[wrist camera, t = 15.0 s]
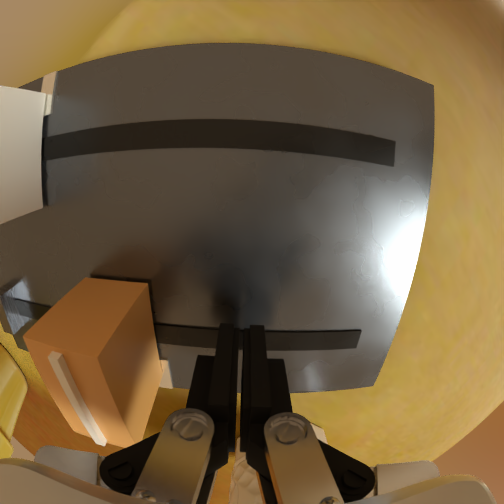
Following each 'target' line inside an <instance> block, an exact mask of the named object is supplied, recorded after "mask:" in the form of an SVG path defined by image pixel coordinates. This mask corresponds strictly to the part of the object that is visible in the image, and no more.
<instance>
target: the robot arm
mask: <svg viewBox="0 0 504 504" xmlns="http://www.w3.org/2000/svg"><path fill="white" fill-rule="evenodd" d="M239 330H240V328H235V327H234V324H230V323H220V325H219V332H218V338H217V345H216V352H215V356H209V355H198V356H197V359H196V363H195V368H194V372H193V377H192V381H191V386H190V390H189V395H188V400H187V404H186V408H185V409H180V410H177V411H175V412H173V413H172V414H171V415H170V416H169V417H168V418H167V420H166V422H165V424H164V426H163V428H162V430H161V432H159V433H157V434H155V435H153V436H151V437H149V438H146V439H144V440H142V441H140V442H138V443H136V444H133V445H131V446H129V447H127V448H124V449H122V450H120V451H117V452H115V453H113V454H110V455H109V456H107V457H105V456H99V454H97V453H89V452H83V451H76V450H71V449H65V448H60V447H55V446H44V447H41V448H40V449H39V450H38V451H37V453H36V455H35V459H34V462H33V461H30V460H25V459H19V458H3V459H0V504H209V502H210V498H211V494H212V491H213V487H214V483H215V480H216V476H217V472H218V469H219V468H221V467H222V466H224V465H225V464H227V463H228V456H229V452H235V431H236V406H237V379H238V354H239ZM240 452H246V460H247V464H248V465H249V466H250V467H252V468H253V469H254V470H256V476H257V480H258V485H259V489H260V493H261V498H262V502H263V504H497V503H496V501H495V499H494V497H493V495H492V493H491V492H490V490H489V488H488V487H487V486H486V484H485V483H484V482H483V481H482V480H481V479H479V478H478V477H476V476H473V475H464V474H457V475H448V476H441V477H440V474H439V470H438V468H437V466H436V465H435V464H434V463H433V462H430V461H415V462H406V463H394V464H377V465H376V466H375V467H368V466H367V465H365V464H364V463H362V462H360V461H358V460H356V459H354V458H352V457H350V456H348V455H346V454H344V453H342V452H340V451H339V450H337V449H335V448H333V447H331V446H330V445H328V444H326V443H324V442H323V441H321V440H319V439H317V437H316V434H315V432H314V430H313V427H312V425H311V424H310V422H309V421H308V420H307V419H306V418H305V417H303V416H301V415H299V414H296V413H293V412H292V405H291V399H290V393H289V387H288V381H287V374H286V368H285V362H284V359H273V358H267V349H266V338H265V327H264V325H250V328H244V339H243V356H242V374H241V409H240Z"/></svg>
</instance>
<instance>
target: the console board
mask: <svg viewBox="0 0 504 504" xmlns="http://www.w3.org/2000/svg"><path fill="white" fill-rule="evenodd" d="M19 89H25V90H31V91H36V92H41V93H46V97H45V105H44V115H43V126H42V144H41V182H42V200H43V208H42V209H39V210H36V211H33V212H30V213H28V214H25V215H23V216H20V217H17V218H15V219H12V220H10V221H7V222H5V223H2V224H0V322H1V324H2V327H3V329H4V331H5V332H7V333H10V334H12V335H13V337H14V339H15V342H16V344H17V346H18V348H20V349H23V350H25V351H28V352H29V350H28V348H27V346H26V343H25V341H24V339H23V335H24V334H25V333H26V332H27V331H28V330H29V329H30V328H31V327H32V326H33V325H34V324H35V323H36V322H37V321H38V320H39V319H40V318H41V317H42V316H43V315H44V314H45V313H46V312H48V311H49V310H50V309H51V308H52V307H53V306H54V305H55V304H56V303H57V302H58V301H59V300H60V299H61V298H63V297H64V296H65V295H66V294H67V293H68V292H69V291H70V290H71V289H73V288H74V287H75V286H76V285H77V284H78V283H79V282H81V281H82V280H83V279H84V278H85V277H87V278H96V279H106V280H117V281H127V282H139V283H148V287H149V296H150V304H151V311H152V319H153V325H154V332H155V338H156V344H157V349H158V355H159V360H160V365H161V370H162V375H163V376H162V379H161V382H160V385H159V387H163V388H170V389H173V387H176V388H184V389H190V386H191V381H192V377H193V372H194V368H195V363H196V359H197V356H198V355H209V356H215V352H216V345H217V338H218V332H219V325H220V323H230V324H234V327H235V328H240V330H239V354H238V379H237V393H241V374H242V356H243V339H244V328H250V325H264V327H265V338H266V349H267V358H273V359H284V362H285V368H286V374H287V381H288V387H289V393H306V392H322V391H335V390H345V389H354V388H362V387H369V386H373V385H374V383H375V381H376V379H377V377H378V374H379V372H380V370H381V367H382V365H383V363H384V360H385V358H386V356H387V353H388V351H389V348H390V345H391V343H392V340H393V338H394V335H395V332H396V329H397V327H398V324H399V321H400V318H401V315H402V312H403V309H404V306H405V302H406V299H407V296H408V293H409V289H410V286H411V282H412V278H413V275H414V271H415V267H416V263H417V259H418V254H419V250H420V245H421V241H422V236H423V230H424V225H425V219H426V213H427V207H428V200H429V193H430V185H431V175H432V164H433V150H434V86H433V85H431V84H429V83H427V82H424V81H422V80H419V79H417V78H414V77H412V76H409V75H406V74H403V73H401V72H398V71H395V70H392V69H389V68H386V67H382V66H379V65H376V64H372V63H369V62H365V61H361V60H358V59H354V58H350V57H345V56H341V55H336V54H331V53H326V52H321V51H315V50H309V49H302V48H295V47H287V46H277V45H265V44H248V43H204V44H187V45H175V46H166V47H158V48H151V49H144V50H138V51H132V52H127V53H122V54H117V55H113V56H108V57H104V58H100V59H96V60H93V61H89V62H86V63H82V64H79V65H76V66H72V67H70V68H66V69H64V70H61V71H55V72H52V73H49V74H47V75H44V77H42V78H39V79H37V80H34V81H32V82H30V83H28V84H25V85H23V86H21V87H19Z"/></svg>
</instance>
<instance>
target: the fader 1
mask: <svg viewBox="0 0 504 504" xmlns="http://www.w3.org/2000/svg"><path fill="white" fill-rule="evenodd" d="M45 97H46V93H41V92H36V91H31V90H25V89H19V88H13V87H7V86H0V224H2V223H5V222H7V221H10V220H12V219H15V218H17V217H20V216H23V215H25V214H28V213H30V212H33V211H36V210H39V209H42V208H43V200H42V182H41V144H42V126H43V115H44V105H45Z"/></svg>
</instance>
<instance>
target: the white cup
mask: <svg viewBox="0 0 504 504" xmlns="http://www.w3.org/2000/svg"><path fill="white" fill-rule="evenodd" d="M310 424H311V425H312V427H313V430H314V432H315V434H316V437H317V439H319V440H321V441H323V442H324V443H326V444H328V442H327V439H326V436H325V433H324V430H323V429H322V428H320V427H318V426H316V425H314V424H312V423H310ZM228 504H263V502H262V498H261V493H260V489H259V485H258V480H257V476H256V470H254V469H253V468H252V467H250V466H249V465H248V464H247V460H246V452H240V437H239V438H238V439H237V443H236V450H235V463H234V470H233V471H232V474H231V485H230V490H229V503H228Z"/></svg>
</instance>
